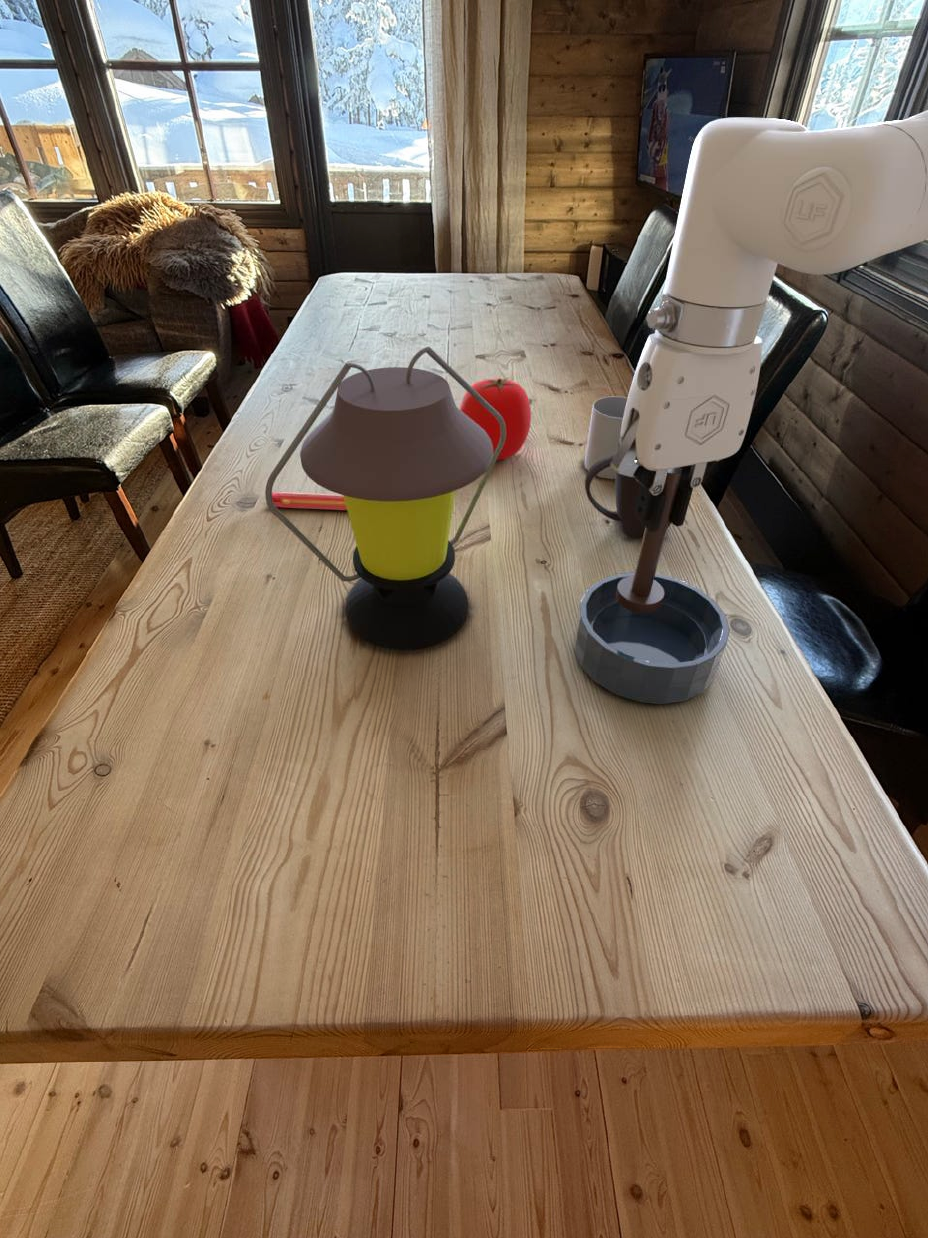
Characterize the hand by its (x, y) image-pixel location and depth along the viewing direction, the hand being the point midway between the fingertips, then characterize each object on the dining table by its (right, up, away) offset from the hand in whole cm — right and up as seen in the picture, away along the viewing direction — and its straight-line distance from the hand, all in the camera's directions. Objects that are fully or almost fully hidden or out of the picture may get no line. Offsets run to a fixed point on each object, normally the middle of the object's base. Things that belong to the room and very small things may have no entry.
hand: (658, 520), depth 63 cm
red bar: (-35, +7, +34) cm, 49 cm away
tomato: (-14, +18, +48) cm, 53 cm away
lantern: (-26, -8, +17) cm, 32 cm away
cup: (+5, +15, +45) cm, 47 cm away
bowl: (+1, -14, +11) cm, 17 cm away
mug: (+5, +3, +31) cm, 31 cm away
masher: (0, -7, +6) cm, 10 cm away
